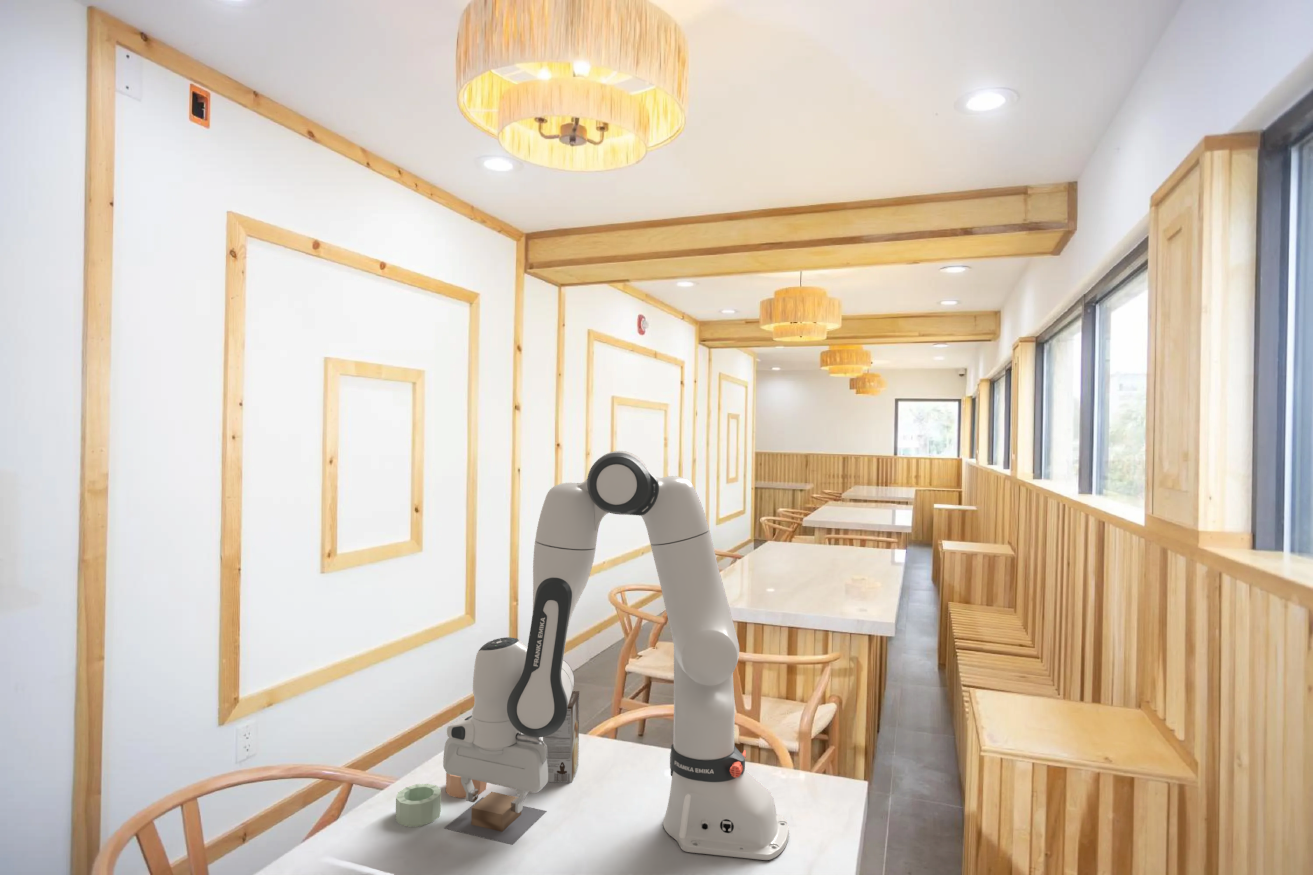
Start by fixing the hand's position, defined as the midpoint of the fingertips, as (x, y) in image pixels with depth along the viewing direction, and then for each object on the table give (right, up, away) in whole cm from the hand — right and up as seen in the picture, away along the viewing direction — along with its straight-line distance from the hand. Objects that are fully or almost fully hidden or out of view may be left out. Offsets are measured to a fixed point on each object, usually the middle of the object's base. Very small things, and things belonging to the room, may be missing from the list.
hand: (494, 805), depth 132 cm
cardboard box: (0, -3, 0) cm, 3 cm away
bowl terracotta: (-8, -3, +12) cm, 14 cm away
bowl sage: (-14, -3, +1) cm, 14 cm away
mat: (0, -3, 0) cm, 3 cm away
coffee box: (+10, -4, +19) cm, 22 cm away
